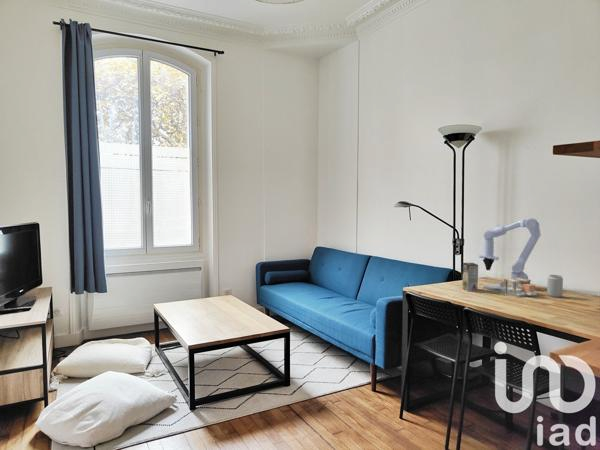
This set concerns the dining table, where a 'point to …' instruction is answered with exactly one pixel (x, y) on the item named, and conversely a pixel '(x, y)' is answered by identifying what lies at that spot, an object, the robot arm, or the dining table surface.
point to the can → (555, 286)
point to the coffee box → (470, 277)
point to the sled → (501, 284)
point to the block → (528, 288)
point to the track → (509, 291)
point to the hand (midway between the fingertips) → (488, 270)
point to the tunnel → (514, 280)
